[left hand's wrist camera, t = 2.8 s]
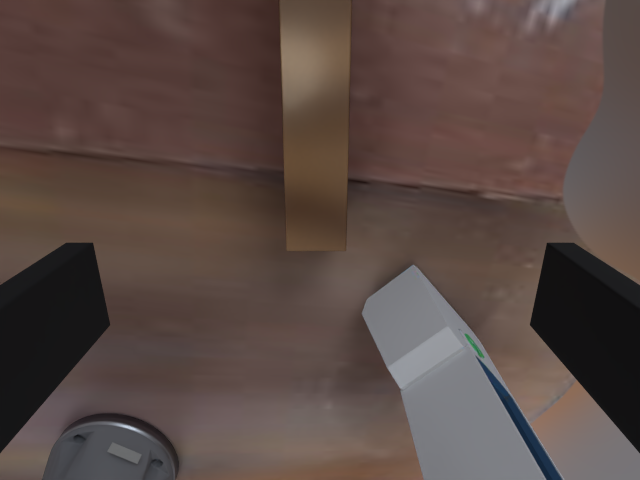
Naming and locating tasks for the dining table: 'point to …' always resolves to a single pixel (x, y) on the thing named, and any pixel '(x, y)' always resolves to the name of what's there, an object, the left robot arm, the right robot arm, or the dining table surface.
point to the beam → (315, 121)
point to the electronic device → (451, 389)
